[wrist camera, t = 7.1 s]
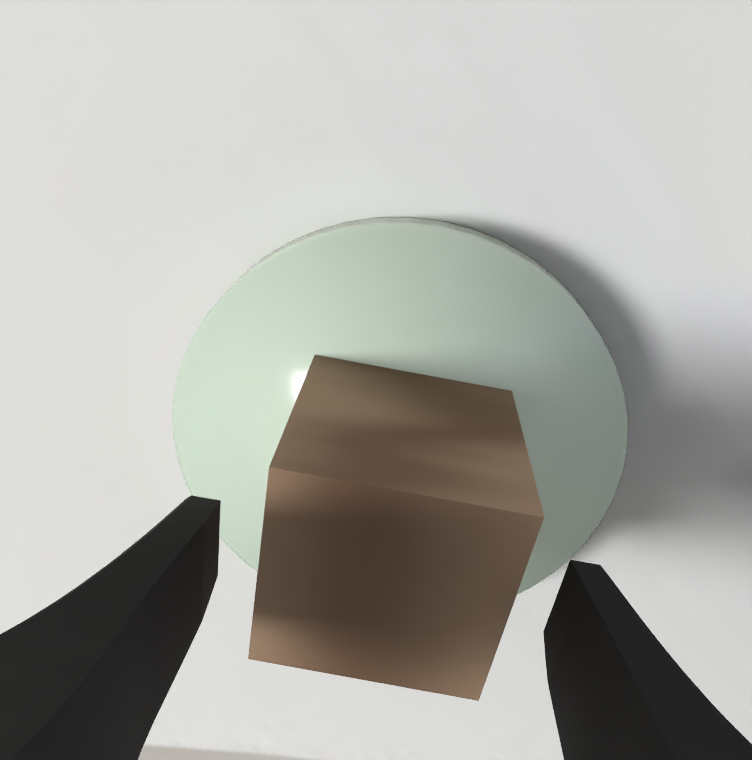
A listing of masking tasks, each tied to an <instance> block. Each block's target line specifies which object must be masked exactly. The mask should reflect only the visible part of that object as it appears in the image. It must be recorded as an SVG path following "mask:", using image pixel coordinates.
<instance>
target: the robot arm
mask: <svg viewBox="0 0 752 760" xmlns="http://www.w3.org/2000/svg"><path fill="white" fill-rule="evenodd" d="M220 506H221V500H216V499H210V498H204V497H198V496H192V495H191V496H190V497H188V498H187V499H185V500H184V501H183V502H182V503H181V504H180V505H179V506H178V507H176V508H175V509H174V510H173V511H172V512H171V513H170V514H169V515H167V516H166V517H165V518H164V519H163V520H162V521H161V522H159V523H158V524H157V525H156V526H155V527H154V528H152V529H151V530H150V531H149V532H148V533H147V534H145V535H144V536H143V537H142V538H141V539H139V540H138V541H137V542H136V543H134V544H133V545H132V546H131V547H129V548H128V549H127V550H126V551H124V552H123V553H122V554H121V555H120V556H118V557H117V558H116V559H114V560H113V561H112V562H111V563H109V564H108V565H107V566H105V567H104V568H102V569H101V570H100V571H98V572H97V573H96V574H94V575H93V576H92V577H90V578H89V579H87V580H86V581H85V582H83V583H82V584H81V585H79V586H78V587H76V588H75V589H74V590H72V591H71V592H69V593H68V594H66V595H65V596H63V597H62V598H60V599H59V600H57V601H56V602H54V603H53V604H51V605H49V606H48V607H46V608H45V609H43V610H41V611H40V612H38V613H37V614H35V615H33V616H32V617H30V618H28V619H27V620H25V621H23V622H22V623H20V624H18V625H16V626H15V627H13V628H11V629H9V630H7V631H6V632H4V633H2V634H0V760H138V757H139V755H140V752H141V749H142V747H143V745H144V743H145V740H146V738H147V736H148V733H149V731H150V729H151V727H152V724H153V722H154V720H155V718H156V716H157V714H158V712H159V710H160V708H161V706H162V703H163V701H164V699H165V697H166V695H167V693H168V691H169V689H170V687H171V685H172V683H173V681H174V679H175V677H176V675H177V672H178V670H179V668H180V666H181V664H182V662H183V660H184V658H185V656H186V654H187V652H188V650H189V647H190V645H191V643H192V641H193V639H194V637H195V635H196V633H197V631H198V628H199V626H200V624H201V622H202V619H203V617H204V614H205V611H206V608H207V605H208V602H209V600H210V597H211V594H212V591H213V588H214V585H215V582H216V579H217V576H218V553H219V530H220ZM544 643H545V657H546V668H547V678H548V685H549V690H550V695H551V700H552V704H553V709H554V714H555V719H556V724H557V728H558V733H559V738H560V742H561V747H562V752H563V756H564V760H752V744H751V743H750V742H749V741H748V740H747V739H746V738H745V737H744V736H743V735H742V734H741V733H740V732H739V731H738V730H737V729H736V728H735V727H734V726H733V725H732V724H731V723H730V722H729V721H728V720H727V719H726V718H725V717H724V716H723V715H722V714H721V713H720V712H719V711H718V710H717V709H716V707H715V706H714V705H713V704H712V703H711V702H710V701H709V700H708V699H707V698H706V697H705V695H704V694H703V693H702V692H701V691H700V690H699V689H698V687H697V686H696V685H695V684H694V683H693V682H692V681H691V679H690V678H689V677H688V676H687V675H686V674H685V673H684V672H683V670H682V669H681V668H680V667H679V666H678V664H677V663H676V662H675V661H674V660H673V658H672V657H671V656H670V655H669V653H668V652H667V651H666V650H665V649H664V647H663V646H662V645H661V644H660V642H659V641H658V640H657V639H656V637H655V636H654V635H653V634H652V632H651V631H650V630H649V628H648V627H647V626H646V625H645V623H644V622H643V621H642V619H641V618H640V617H639V615H638V614H637V613H636V611H635V610H634V609H633V608H632V606H631V605H630V604H629V602H628V601H627V600H626V598H625V597H624V596H623V594H622V593H621V592H620V590H619V589H618V588H617V586H616V585H615V584H614V582H613V581H612V580H611V578H610V577H609V576H608V574H607V573H606V572H605V571H604V569H603V568H602V567H601V565H597V564H591V563H585V562H579V561H574V560H570V562H569V565H568V567H567V570H566V573H565V575H564V578H563V581H562V584H561V586H560V589H559V592H558V594H557V597H556V600H555V602H554V605H553V608H552V610H551V613H550V616H549V618H548V621H547V624H546V626H545V629H544Z"/></svg>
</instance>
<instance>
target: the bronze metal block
mask: <svg viewBox="0 0 752 760" xmlns="http://www.w3.org/2000/svg"><path fill="white" fill-rule="evenodd" d="M543 520H544V514H543V510H542V506H541V502H540V498H539V494H538V490H537V486H536V483H535V479H534V475H533V471H532V467H531V463H530V459H529V455H528V451H527V447H526V444H525V440H524V436H523V432H522V428H521V424H520V420H519V416H518V412H517V409H516V405H515V401H514V397H513V393H512V391H510V390H505V389H499V388H494V387H489V386H483V385H478V384H472V383H467V382H461V381H456V380H451V379H445V378H440V377H434V376H429V375H423V374H418V373H412V372H407V371H402V370H396V369H391V368H385V367H380V366H374V365H369V364H364V363H358V362H353V361H347V360H342V359H336V358H331V357H326V356H320V355H314V358H313V360H312V362H311V365H310V367H309V370H308V372H307V375H306V377H305V380H304V382H303V385H302V387H301V390H300V392H299V394H298V397H297V399H296V402H295V404H294V407H293V409H292V412H291V414H290V417H289V419H288V421H287V424H286V426H285V429H284V431H283V434H282V436H281V439H280V441H279V444H278V446H277V449H276V451H275V453H274V456H273V458H272V461H271V463H270V466H269V472H268V481H267V490H266V500H265V509H264V518H263V527H262V537H261V546H260V555H259V565H258V574H257V583H256V592H255V602H254V611H253V620H252V629H251V639H250V648H249V657H248V659H252V660H257V661H263V662H268V663H274V664H279V665H285V666H290V667H296V668H301V669H307V670H312V671H318V672H324V673H329V674H335V675H340V676H346V677H351V678H357V679H362V680H368V681H373V682H379V683H384V684H390V685H395V686H401V687H406V688H412V689H417V690H423V691H428V692H434V693H439V694H445V695H450V696H456V697H461V698H467V699H472V700H478V701H479V698H480V695H481V692H482V689H483V687H484V684H485V681H486V678H487V675H488V673H489V670H490V667H491V664H492V662H493V659H494V656H495V653H496V650H497V648H498V645H499V642H500V639H501V637H502V634H503V631H504V628H505V625H506V623H507V620H508V617H509V614H510V612H511V609H512V606H513V603H514V600H515V598H516V595H517V592H518V589H519V587H520V584H521V581H522V578H523V575H524V573H525V570H526V567H527V564H528V562H529V559H530V556H531V553H532V550H533V548H534V545H535V542H536V539H537V536H538V534H539V531H540V528H541V525H542V523H543Z"/></svg>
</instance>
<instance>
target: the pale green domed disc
mask: <svg viewBox="0 0 752 760" xmlns="http://www.w3.org/2000/svg"><path fill="white" fill-rule="evenodd" d="M314 355H320V356H326V357H331V358H336V359H342V360H347V361H353V362H358V363H364V364H369V365H374V366H380V367H385V368H391V369H396V370H402V371H407V372H412V373H418V374H423V375H429V376H434V377H440V378H445V379H451V380H456V381H461V382H467V383H472V384H478V385H483V386H489V387H494V388H499V389H505V390H510V391H512V393H513V397H514V401H515V405H516V409H517V412H518V416H519V420H520V424H521V428H522V432H523V436H524V440H525V444H526V447H527V451H528V455H529V459H530V463H531V467H532V471H533V475H534V479H535V483H536V486H537V490H538V494H539V498H540V502H541V506H542V510H543V514H544V520H543V523H542V525H541V528H540V531H539V534H538V536H537V539H536V542H535V545H534V548H533V550H532V553H531V556H530V559H529V562H528V564H527V567H526V570H525V573H524V575H523V578H522V581H521V584H520V587H519V589H518V592H517V594H519V593H521V592H523V591H525V590H527V589H529V588H531V587H532V586H534V585H535V584H537V583H538V582H540V581H541V580H543V579H545V578H546V577H548V576H549V575H551V574H552V573H553V572H555V571H556V570H557V569H558V568H559V567H561V566H562V565H563V564H564V563H565V562H566V561H568V560H569V559H570V558H571V557H572V556H573V555H574V554H575V553H576V552H577V551H578V550H579V549H580V548H581V546H582V545H583V544H584V543H585V542H586V541H587V540H588V539H589V538H590V536H591V535H592V533H593V532H594V530H595V529H596V528H597V526H598V525H599V523H600V522H601V521H602V519H603V517H604V515H605V514H606V512H607V510H608V508H609V506H610V504H611V502H612V500H613V498H614V496H615V493H616V490H617V487H618V484H619V481H620V478H621V476H622V473H623V468H624V462H625V456H626V451H627V437H628V417H627V410H626V403H625V396H624V391H623V388H622V385H621V381H620V378H619V375H618V372H617V368H616V365H615V363H614V361H613V359H612V357H611V355H610V353H609V351H608V349H607V347H606V345H605V343H604V341H603V339H602V337H601V336H600V334H599V333H598V331H597V330H596V328H595V327H594V325H593V323H592V322H591V320H590V319H589V318H588V316H587V315H586V313H585V312H584V310H583V309H582V308H581V306H580V305H579V303H578V302H577V300H576V299H575V298H574V297H573V296H572V294H571V293H570V292H569V291H568V290H567V289H566V288H565V287H564V286H563V285H562V284H561V283H560V282H559V281H558V280H557V279H556V278H555V277H554V276H553V275H552V274H551V273H549V272H548V271H547V270H546V269H544V268H543V267H542V266H541V265H539V264H538V263H537V262H535V261H534V260H533V259H532V258H530V257H529V256H527V255H525V254H524V253H522V252H520V251H518V250H517V249H515V248H513V247H512V246H510V245H508V244H506V243H505V242H503V241H500V240H498V239H496V238H493V237H491V236H488V235H486V234H483V233H481V232H479V231H476V230H474V229H470V228H466V227H462V226H459V225H455V224H451V223H447V222H443V221H436V220H428V219H420V218H413V217H378V218H371V219H364V220H356V221H349V222H344V223H341V224H337V225H334V226H330V227H327V228H323V229H319V230H316V231H314V232H311V233H309V234H307V235H305V236H302V237H300V238H298V239H295V240H293V241H291V242H289V243H287V244H285V245H284V246H282V247H280V248H279V249H277V250H275V251H274V252H272V253H271V254H269V255H267V256H266V257H264V258H263V259H261V260H260V261H259V262H258V263H257V264H255V265H254V266H253V267H252V268H251V269H249V270H248V271H247V272H246V273H245V274H243V275H242V276H241V277H240V278H239V279H238V280H237V281H236V283H235V284H234V285H233V286H232V287H231V288H230V289H229V290H228V291H227V292H226V294H225V295H224V296H223V297H222V298H221V299H220V300H219V301H218V303H217V304H216V305H215V306H214V307H213V308H212V309H211V310H210V312H209V313H208V314H207V316H206V317H205V319H204V320H203V322H202V323H201V325H200V326H199V328H198V330H197V331H196V333H195V334H194V336H193V338H192V340H191V342H190V344H189V347H188V349H187V351H186V353H185V356H184V358H183V360H182V363H181V367H180V371H179V374H178V378H177V382H176V386H175V394H174V403H173V435H174V442H175V447H176V452H177V457H178V462H179V465H180V468H181V471H182V474H183V477H184V480H185V483H186V485H187V487H188V489H189V491H190V493H191V495H192V496H198V497H204V498H210V499H216V500H221V506H220V530H219V537H220V538H221V539H222V541H223V542H224V543H225V544H226V545H227V546H228V547H229V548H230V549H231V550H232V551H233V552H234V553H235V554H236V555H238V556H239V557H240V558H241V559H242V560H243V561H244V562H245V563H247V564H248V565H249V566H251V567H252V568H253V569H255V570H256V571H257V572H258V565H259V555H260V546H261V537H262V527H263V518H264V509H265V500H266V490H267V481H268V472H269V466H270V463H271V461H272V458H273V456H274V453H275V451H276V449H277V446H278V444H279V441H280V439H281V436H282V434H283V431H284V429H285V426H286V424H287V421H288V419H289V417H290V414H291V412H292V409H293V407H294V404H295V402H296V399H297V397H298V394H299V392H300V390H301V387H302V385H303V382H304V380H305V377H306V375H307V372H308V370H309V367H310V365H311V362H312V360H313V358H314Z"/></svg>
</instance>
